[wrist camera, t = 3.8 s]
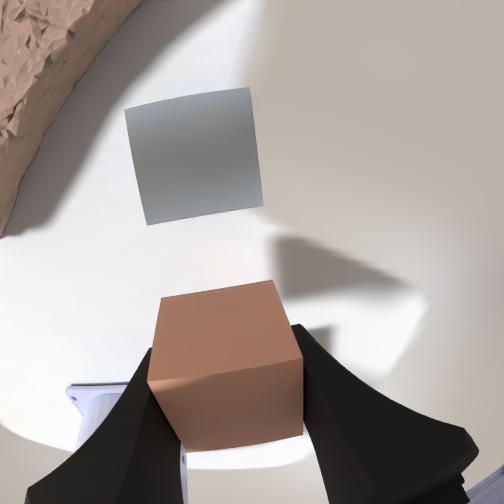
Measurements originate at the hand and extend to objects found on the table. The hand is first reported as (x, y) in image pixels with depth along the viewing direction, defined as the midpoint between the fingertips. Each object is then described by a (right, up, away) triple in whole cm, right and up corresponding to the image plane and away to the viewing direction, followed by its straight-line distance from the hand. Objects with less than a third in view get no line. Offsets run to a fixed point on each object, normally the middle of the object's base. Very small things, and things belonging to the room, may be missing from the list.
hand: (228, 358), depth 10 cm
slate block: (-2, +8, +3) cm, 9 cm away
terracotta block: (0, +1, +1) cm, 1 cm away
